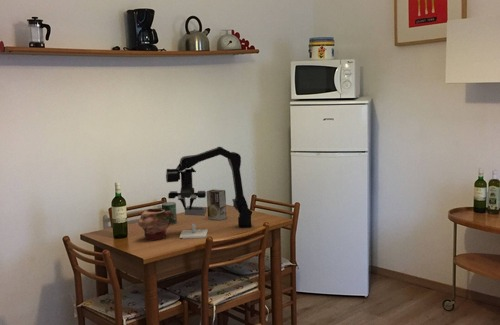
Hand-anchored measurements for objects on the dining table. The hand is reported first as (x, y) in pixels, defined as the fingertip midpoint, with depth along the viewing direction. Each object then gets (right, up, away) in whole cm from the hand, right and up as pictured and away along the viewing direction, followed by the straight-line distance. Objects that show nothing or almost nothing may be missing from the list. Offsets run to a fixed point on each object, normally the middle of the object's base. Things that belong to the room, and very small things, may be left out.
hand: (187, 211), depth 283 cm
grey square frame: (+4, -1, 0) cm, 4 cm away
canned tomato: (-13, -9, +22) cm, 27 cm away
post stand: (+4, -11, -6) cm, 13 cm away
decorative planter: (-14, -13, -8) cm, 20 cm away
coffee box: (+13, -7, +29) cm, 33 cm away
